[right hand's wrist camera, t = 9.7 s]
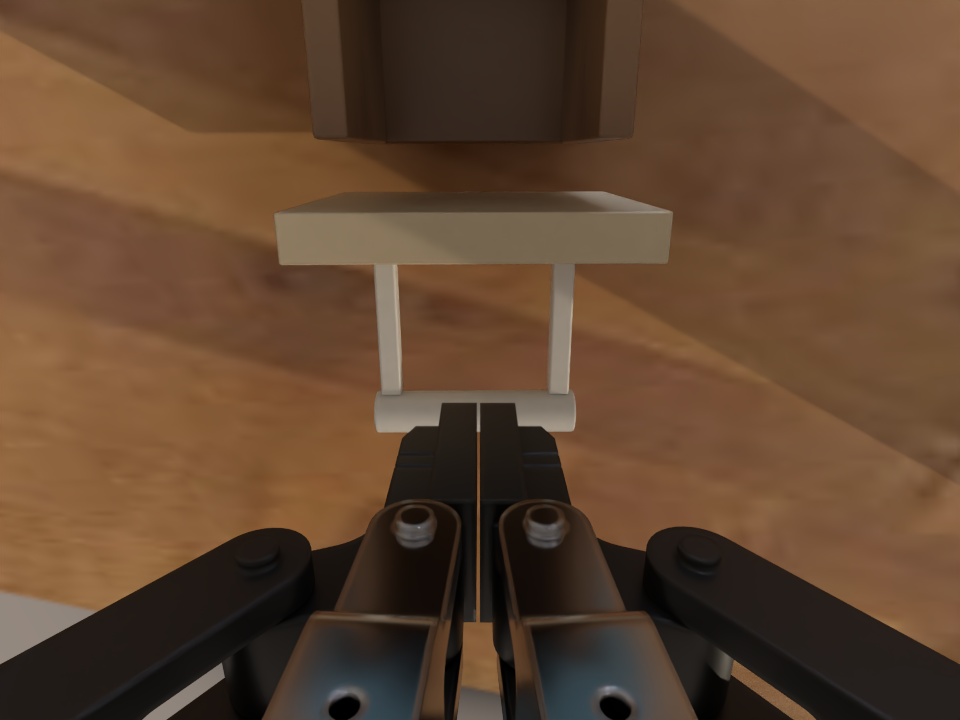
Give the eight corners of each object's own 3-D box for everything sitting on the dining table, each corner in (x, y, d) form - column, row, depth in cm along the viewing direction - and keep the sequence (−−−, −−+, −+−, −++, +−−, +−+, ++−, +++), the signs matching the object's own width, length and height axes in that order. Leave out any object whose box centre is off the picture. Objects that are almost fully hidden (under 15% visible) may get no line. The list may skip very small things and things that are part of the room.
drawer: (592, 373, 23) (646, 474, 16) (358, 374, 23) (303, 477, 16) (647, -461, 15) (802, -1019, 8) (294, -462, 15) (127, -1026, 8)
